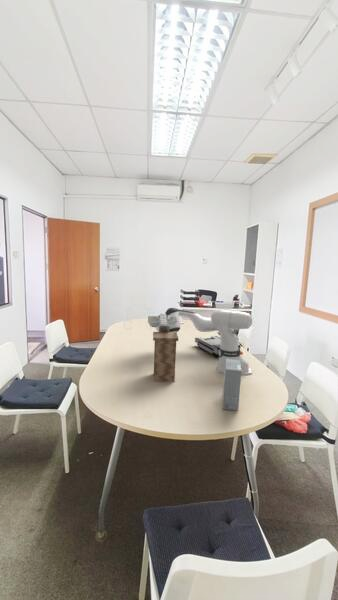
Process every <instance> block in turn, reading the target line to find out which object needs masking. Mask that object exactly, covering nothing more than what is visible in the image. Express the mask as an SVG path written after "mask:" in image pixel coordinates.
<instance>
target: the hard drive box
mask: <svg viewBox="0 0 338 600" xmlns="http://www.w3.org/2000/svg"><path fill="white" fill-rule="evenodd" d="M241 372H242V371H241V364H240V360H232V359H225V372H224V373H223V374H224V375H223V387H222V388H223V389H222V402H221V403H222V404H221V409H223V410H231V411H235V412H238V411H239V404H240V403H239V402H240V394H241V382H242V375H241Z"/></svg>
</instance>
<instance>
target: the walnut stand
mask: <svg viewBox="0 0 338 600" xmlns="http://www.w3.org/2000/svg"><path fill="white" fill-rule="evenodd" d="M152 341H153V342H154V351H153V352H154V353H153V354H154V355H153V382H155V383H157V382H161V383H162V382H164V383H165V382H166V383H168V382H169V383H170V382H171V383H172V382H173V383H175V381H176V357H177V356H176V354H177V342H179V336H178V332H158V331H153V332H152Z"/></svg>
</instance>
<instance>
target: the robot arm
mask: <svg viewBox="0 0 338 600" xmlns="http://www.w3.org/2000/svg"><path fill="white" fill-rule="evenodd" d="M164 314H166V318H167V324H169V332H177V333H178V332H179V331H180V330H181V321H180V317H184V318H188V319H189V320H191V322H192V324H193V326H194V327H195V329H196V330H197V331H198V332H201V333H203V332H204V333H211V332H216V331H217V332H216V333H217V334H218V336H219V337H220V338H221V345H220V350H219V357H218V362H217V365H216V369H215V370H216V371H218V372H220V373H221V374H224V372H225V359H232V360H240V364H241V371H242V372H241V376H244V375H252V374H253V371H252V368H251V367H249V362H248V360H247V359H246V358H244V357H243V356H242V355H244V352H243V351H242V350H241V349H240V350H239V349H238V345H239V337H238V334H236V333H235V331H234V330H236V331H237V330H248V329H250V328H251V326H252V325H253V316H252V315H251V314H250V313H247V312H244V311H239V310H231V309H229V308H222V309H215V310H213V311H212V312H211V315H210V317H209V316H207V317H205V316H202V315H200V314H199V313H198V312H195V311H189V310H184V309H180V308H176V307H170V308H167V309H166V311H165V313H164ZM147 323H148V325H149V327H151V328H155V329H156V332H159V323H160V314H159V315H158V314H157V315H148V316H147Z"/></svg>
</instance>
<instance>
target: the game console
mask: <svg viewBox="0 0 338 600" xmlns="http://www.w3.org/2000/svg"><path fill="white" fill-rule="evenodd" d="M194 343H196V345H197V346H198V348H199V349H200V350H202V351H204V352H205V353H207V354H209V355H211V356H212V357H214V358H219V350H220V345H221V337H220V336H217V335H214V336H213V335H212V336H210V337H208V338H203V337H194ZM241 346H242V345H240V344H238V349H239V350H240V351H241Z"/></svg>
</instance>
